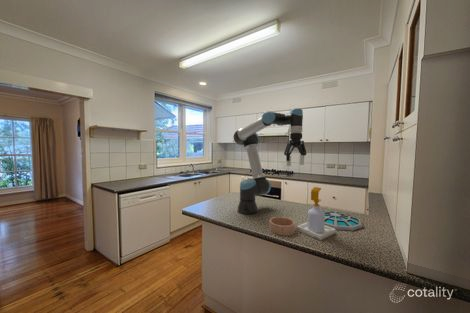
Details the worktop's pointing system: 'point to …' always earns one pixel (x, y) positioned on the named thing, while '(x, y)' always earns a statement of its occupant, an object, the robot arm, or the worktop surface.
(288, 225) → the holder ring
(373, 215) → the worktop surface
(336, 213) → the decorative platform
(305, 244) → the worktop surface
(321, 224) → the soap bottle
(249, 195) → the robot arm
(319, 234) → the tray
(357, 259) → the worktop surface
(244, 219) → the worktop surface
